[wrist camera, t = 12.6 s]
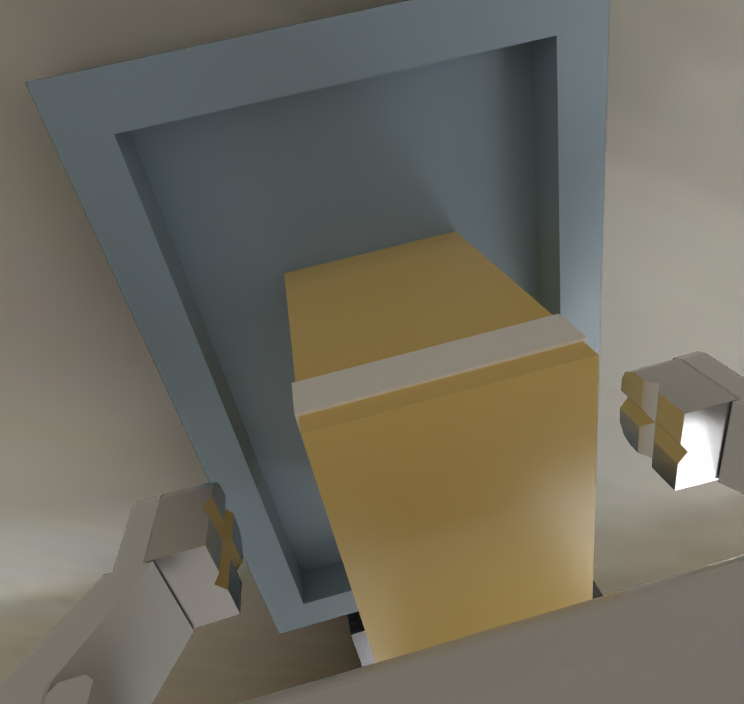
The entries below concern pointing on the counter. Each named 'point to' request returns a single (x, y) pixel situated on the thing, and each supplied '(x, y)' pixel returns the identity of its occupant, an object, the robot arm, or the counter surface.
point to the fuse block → (445, 439)
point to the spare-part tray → (329, 211)
